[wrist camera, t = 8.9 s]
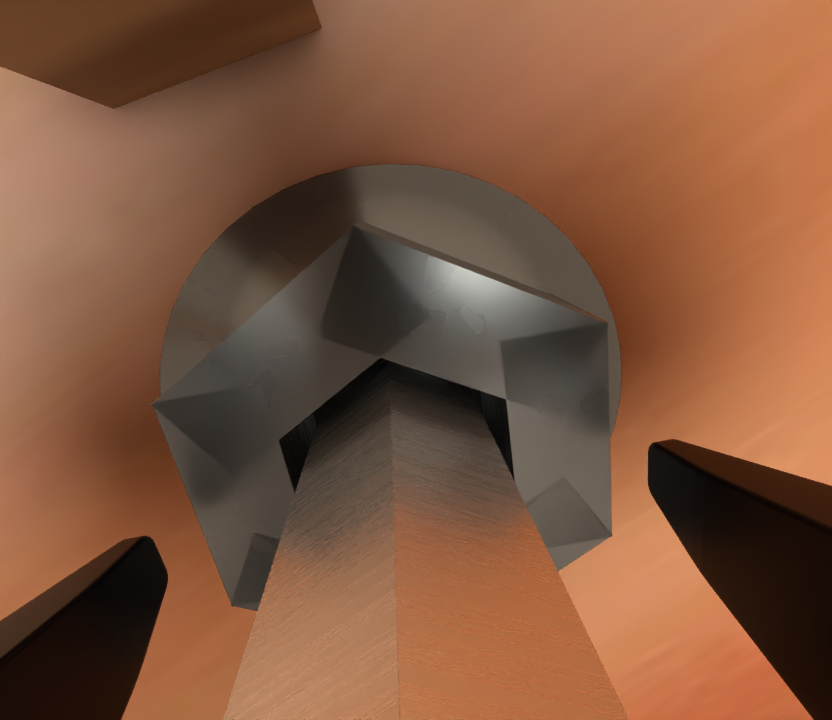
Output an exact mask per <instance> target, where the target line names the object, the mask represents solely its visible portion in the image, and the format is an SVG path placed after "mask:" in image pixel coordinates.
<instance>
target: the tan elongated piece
mask: <svg viewBox="0 0 832 720" xmlns="http://www.w3.org/2000/svg"><path fill="white" fill-rule="evenodd" d="M223 720H629V719H628V717H627V715H626V712H625V710H624V708H623V706H622V704H621V702H620V700H619V698H618V696H617V694H616V692H615V690H614V687H613V685H612V683H611V681H610V679H609V677H608V675H607V673H606V671H605V669H604V667H603V665H602V663H601V660H600V658H599V656H598V654H597V652H596V650H595V648H594V646H593V644H592V642H591V640H590V638H589V635H588V633H587V631H586V629H585V627H584V625H583V623H582V621H581V619H580V617H579V615H578V613H577V611H576V608H575V606H574V604H573V602H572V600H571V598H570V596H569V594H568V592H567V590H566V588H565V586H564V584H563V581H562V579H561V577H560V575H559V573H558V571H557V569H556V567H555V565H554V563H553V561H552V559H551V556H550V554H549V552H548V550H547V548H546V546H545V544H544V542H543V540H542V538H541V536H540V534H539V532H538V529H537V527H536V525H535V523H534V521H533V519H532V517H531V515H530V513H529V511H528V509H527V507H526V504H525V502H524V500H523V498H522V496H521V494H520V492H519V490H518V488H517V486H516V484H515V482H514V480H513V477H512V475H511V473H510V471H509V469H508V467H507V465H506V463H505V461H504V459H503V457H502V455H501V452H500V450H499V448H498V446H497V444H496V442H495V440H494V438H493V436H492V434H491V432H490V430H489V428H488V425H487V423H486V421H485V419H484V417H483V415H482V413H481V411H480V409H479V407H478V405H477V403H476V400H475V398H474V396H473V394H472V392H471V390H470V388H469V387H467V386H464V385H461V384H458V383H455V382H452V381H449V380H446V379H443V378H440V377H437V376H434V375H431V374H428V373H425V372H422V371H419V370H416V369H413V368H410V367H407V366H404V365H401V364H398V363H395V362H392V361H389V360H386V359H383V358H379V359H378V360H376V361H375V362H374V363H373V364H372V365H370V366H369V367H368V368H367V369H365V370H364V371H363V372H362V373H361V374H359V375H358V376H357V377H356V378H354V379H353V380H352V381H351V382H349V383H348V384H347V385H346V386H345V387H343V388H342V389H341V390H340V391H338V392H337V393H336V394H335V395H333V396H332V397H331V398H330V399H329V400H327V401H326V402H325V403H324V404H323V407H322V410H321V413H320V416H319V419H318V422H317V425H316V429H315V432H314V435H313V438H312V441H311V444H310V447H309V451H308V454H307V457H306V460H305V463H304V466H303V469H302V473H301V476H300V479H299V482H298V485H297V488H296V491H295V495H294V498H293V501H292V504H291V507H290V510H289V513H288V517H287V520H286V523H285V526H284V529H283V532H282V535H281V539H280V542H279V545H278V548H277V551H276V554H275V558H274V561H273V564H272V567H271V570H270V573H269V576H268V580H267V583H266V586H265V589H264V592H263V595H262V598H261V602H260V605H259V608H258V611H257V614H256V617H255V620H254V624H253V627H252V630H251V633H250V636H249V639H248V642H247V646H246V649H245V652H244V655H243V658H242V661H241V664H240V668H239V671H238V674H237V677H236V680H235V683H234V686H233V690H232V693H231V696H230V699H229V702H228V705H227V708H226V712H225V715H224V718H223Z"/></svg>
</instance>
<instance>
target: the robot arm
mask: <svg viewBox="0 0 832 720" xmlns="http://www.w3.org/2000/svg"><path fill="white" fill-rule="evenodd" d="M648 486H649V490H650V492H651V495H652V496H653V498H654V500H655V501H656V503H657V504H658V506H659V508H660V509H661V511H662V512H663V514H664V516H665V517H666V519H667V520H668V522H669V524H670V525H671V527H672V528H673V530H674V532H675V533H676V535H677V536H678V538H679V540H680V541H681V543H682V544H683V546H684V548H685V549H686V551H687V552H688V554H689V556H690V557H691V559H692V560H693V562H694V563H695V565H696V566H697V568H698V569H699V571H700V572H701V574H702V575H703V576H704V578H705V579H706V580H707V582H708V583H709V584H710V586H711V587H712V588H713V590H714V591H715V592H716V594H717V595H718V596H719V597H720V599H721V600H722V601H723V603H724V604H725V605H726V607H727V608H728V609H729V610H730V612H731V613H732V614H733V616H734V617H735V618H736V620H737V621H738V622H739V623H740V625H741V626H742V627H743V629H744V630H745V631H746V632H747V634H748V635H749V636H750V638H751V639H752V640H753V642H754V643H755V644H756V645H757V647H758V648H759V649H760V651H761V652H762V653H763V655H764V656H765V657H766V658H767V660H768V661H769V662H770V664H771V665H772V666H773V668H774V669H775V670H776V671H777V673H778V674H779V675H780V677H781V678H782V679H783V680H784V682H785V683H786V684H787V686H788V687H789V688H790V690H791V691H792V692H793V693H794V695H795V696H796V697H797V699H798V700H799V701H800V703H801V704H802V705H803V706H804V708H805V709H806V710H807V712H808V713H809V714H810V716H811V717H812V718H813V719H814V720H832V486H830V485H827V484H824V483H820V482H817V481H813V480H810V479H807V478H803V477H800V476H797V475H793V474H790V473H787V472H783V471H780V470H777V469H773V468H770V467H766V466H763V465H760V464H756V463H753V462H750V461H746V460H743V459H740V458H736V457H733V456H730V455H726V454H723V453H719V452H716V451H713V450H709V449H706V448H703V447H699V446H696V445H693V444H689V443H686V442H683V441H679V440H675V439H670V440H665V441H660V442H654V443H652V444H651V445H650V446H649V450H648ZM167 583H168V574H167V570H166V567H165V565H164V563H163V561H162V558H161V556H160V554H159V552H158V549H157V547H156V545H155V543H154V541H153V539H152V538H150V537H148V536H140V537H135V538H129V539H125V540H122V541H120V542H119V543H117V544H116V545H114V546H113V547H111V548H110V549H108V550H107V551H105V552H104V553H102V554H101V555H99V556H98V557H96V558H95V559H93V560H92V561H90V562H89V563H87V564H86V565H84V566H83V567H81V568H80V569H78V570H77V571H75V572H74V573H72V574H70V575H69V576H67V577H66V578H64V579H63V580H61V581H60V582H58V583H57V584H55V585H54V586H52V587H51V588H49V589H48V590H46V591H45V592H43V593H42V594H40V595H39V596H37V597H36V598H34V599H33V600H31V601H30V602H28V603H27V604H25V605H24V606H22V607H21V608H19V609H18V610H16V611H15V612H13V613H12V614H10V615H9V616H7V617H5V618H4V619H2V620H1V621H0V720H121V719H122V717H123V714H124V712H125V709H126V707H127V704H128V702H129V699H130V697H131V695H132V692H133V689H134V687H135V684H136V682H137V679H138V676H139V673H140V670H141V668H142V665H143V662H144V659H145V655H146V652H147V649H148V646H149V643H150V639H151V636H152V633H153V630H154V626H155V623H156V620H157V617H158V614H159V610H160V607H161V604H162V601H163V598H164V594H165V591H166V588H167Z"/></svg>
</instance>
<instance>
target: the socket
mask: <svg viewBox="0 0 832 720" xmlns="http://www.w3.org/2000/svg"><path fill="white" fill-rule="evenodd" d="M379 358H383V359H386V360H389V361H392V362H395V363H398V364H401V365H404V366H407V367H410V368H413V369H416V370H419V371H422V372H425V373H428V374H431V375H434V376H437V377H440V378H443V379H446V380H449V381H452V382H455V383H458V384H461V385H464V386H467V387H469V388H470V390H471V392H472V394H473V396H474V398H475V400H476V403H477V405H478V407H479V409H480V411H481V413H482V415H483V417H484V419H485V421H486V423H487V425H488V428H489V430H490V432H491V434H492V436H493V438H494V440H495V442H496V444H497V446H498V448H499V450H500V452H501V455H502V457H503V459H504V461H505V463H506V465H507V467H508V469H509V471H510V473H511V475H512V477H513V480H514V482H515V484H516V486H517V488H518V490H519V492H520V494H521V496H522V498H523V500H524V502H525V504H526V507H527V509H528V511H529V513H530V515H531V517H532V519H533V521H534V523H535V525H536V527H537V529H538V532H539V534H540V536H541V538H542V540H543V542H544V544H545V546H546V548H547V550H548V552H549V554H550V556H551V559H552V561H553V563H554V565H555V567H556V569H557V571H559V570H561V569H562V568H564V567H565V566H567V565H568V564H570V563H571V562H573V561H574V560H576V559H577V558H579V557H580V556H582V555H583V554H585V553H586V552H588V551H589V550H591V549H592V548H594V547H595V546H597V545H598V544H600V543H601V542H603V541H604V540H606V539H607V538H609V537H612V535H613V534H612V517H611V469H610V438H611V435H612V432H613V429H614V426H615V422H616V417H617V412H618V407H619V402H620V392H621V375H622V369H621V357H620V345H619V340H618V335H617V331H616V327H615V322H614V318H613V315H612V312H611V310H610V307H609V304H608V302H607V299H606V297H605V294H604V291H603V289H602V287H601V285H600V284H599V282H598V280H597V278H596V277H595V275H594V273H593V271H592V269H591V268H590V266H589V264H588V263H587V261H586V260H585V259H584V258H583V256H582V255H581V254H580V252H579V251H578V250H577V249H576V247H575V246H574V245H573V243H572V242H571V241H570V240H569V238H567V237H566V236H565V235H564V234H563V233H562V232H561V231H560V230H559V229H558V228H557V227H556V226H555V225H554V224H553V223H552V222H551V221H550V220H549V219H548V218H547V217H545V216H544V215H542V214H541V213H540V212H538V211H537V210H535V209H534V208H533V207H531V206H530V205H528V204H527V203H526V202H524V201H523V200H521V199H520V198H518V197H516V196H514V195H512V194H510V193H508V192H506V191H504V190H503V189H501V188H499V187H497V186H495V185H493V184H491V183H488V182H485V181H483V180H480V179H477V178H474V177H471V176H468V175H465V174H462V173H459V172H455V171H450V170H445V169H440V168H434V167H429V166H424V165H404V164H380V165H370V166H359V167H351V168H347V169H343V170H338V171H334V172H330V173H326V174H322V175H318V176H315V177H313V178H310V179H308V180H305V181H303V182H300V183H298V184H295V185H293V186H291V187H288V188H286V189H283V190H282V191H280V192H278V193H277V194H275V195H273V196H271V197H270V198H268V199H266V200H265V201H263V202H261V203H260V204H258V205H256V206H254V207H253V208H252V209H251V210H249V211H248V212H247V213H246V214H244V215H243V216H242V217H241V218H239V219H238V220H237V221H236V222H234V223H233V224H232V225H231V226H229V227H228V228H227V229H226V230H225V231H224V232H223V233H222V234H221V236H220V237H219V238H218V239H217V240H216V241H215V242H214V243H213V244H212V245H211V246H210V248H209V249H208V250H207V251H206V252H205V253H204V254H203V256H202V257H201V259H200V260H199V262H198V263H197V265H196V266H195V268H194V269H193V271H192V272H191V274H190V275H189V277H188V278H187V280H186V282H185V284H184V286H183V288H182V290H181V292H180V294H179V296H178V299H177V301H176V303H175V305H174V307H173V310H172V313H171V316H170V320H169V323H168V326H167V330H166V333H165V337H164V342H163V349H162V356H161V364H160V396H159V397H158V398H157V399H156V400H155V401H153V402H152V406H153V408H154V410H155V413H156V415H157V418H158V420H159V423H160V425H161V428H162V431H163V433H164V436H165V438H166V441H167V443H168V446H169V448H170V451H171V453H172V456H173V458H174V461H175V463H176V466H177V468H178V471H179V473H180V476H181V478H182V481H183V483H184V486H185V488H186V491H187V494H188V496H189V499H190V501H191V504H192V506H193V509H194V511H195V514H196V516H197V519H198V521H199V524H200V526H201V529H202V531H203V534H204V536H205V539H206V541H207V544H208V546H209V549H210V552H211V554H212V557H213V559H214V562H215V564H216V567H217V569H218V572H219V574H220V577H221V579H222V582H223V584H224V587H225V589H226V592H227V594H228V597H229V599H230V602H231V605H232V606H236V607H241V608H245V609H250V610H255V611H258V608H259V605H260V602H261V598H262V595H263V592H264V589H265V586H266V583H267V580H268V576H269V573H270V570H271V567H272V564H273V561H274V558H275V554H276V551H277V548H278V545H279V542H280V539H281V535H282V532H283V529H284V526H285V523H286V520H287V517H288V513H289V510H290V507H291V504H292V501H293V498H294V495H295V491H296V488H297V485H298V482H299V479H300V476H301V473H302V469H303V466H304V463H305V460H306V457H307V454H308V451H309V447H310V444H311V441H312V438H313V435H314V432H315V429H316V425H317V422H318V419H319V416H320V413H321V410H322V407H323V404H324V403H325V402H326V401H327V400H329V399H330V398H331V397H332V396H333V395H335V394H336V393H337V392H338V391H340V390H341V389H342V388H343V387H345V386H346V385H347V384H348V383H349V382H351V381H352V380H353V379H354V378H356V377H357V376H358V375H359V374H361V373H362V372H363V371H364V370H365V369H367V368H368V367H369V366H370V365H372V364H373V363H374V362H375V361H376V360H378V359H379Z"/></svg>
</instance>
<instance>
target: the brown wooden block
mask: <svg viewBox="0 0 832 720" xmlns="http://www.w3.org/2000/svg"><path fill="white" fill-rule="evenodd" d="M320 28H321V25H320V22H319V19H318V16H317V13H316V10H315V7H314V4H313V1H312V0H0V66H1V67H3V68H6V69H9V70H11V71H14V72H17V73H20V74H22V75H25V76H28V77H30V78H33V79H36V80H38V81H41V82H44V83H46V84H49V85H52V86H54V87H57V88H60V89H62V90H65V91H68V92H70V93H73V94H76V95H79V96H81V97H84V98H87V99H89V100H92V101H95V102H97V103H100V104H103V105H105V106H108V107H111V108H113V109H114V108H117V107H119V106H122V105H124V104H127V103H129V102H132V101H135V100H137V99H140V98H142V97H145V96H147V95H150V94H153V93H155V92H158V91H160V90H163V89H165V88H168V87H171V86H173V85H176V84H178V83H181V82H184V81H186V80H189V79H191V78H194V77H196V76H199V75H202V74H204V73H207V72H209V71H212V70H214V69H217V68H220V67H222V66H225V65H227V64H230V63H232V62H235V61H238V60H240V59H243V58H245V57H248V56H250V55H253V54H256V53H258V52H261V51H263V50H266V49H269V48H271V47H274V46H276V45H279V44H281V43H284V42H287V41H289V40H292V39H294V38H297V37H299V36H302V35H305V34H307V33H310V32H312V31H315V30H317V29H320Z"/></svg>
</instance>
